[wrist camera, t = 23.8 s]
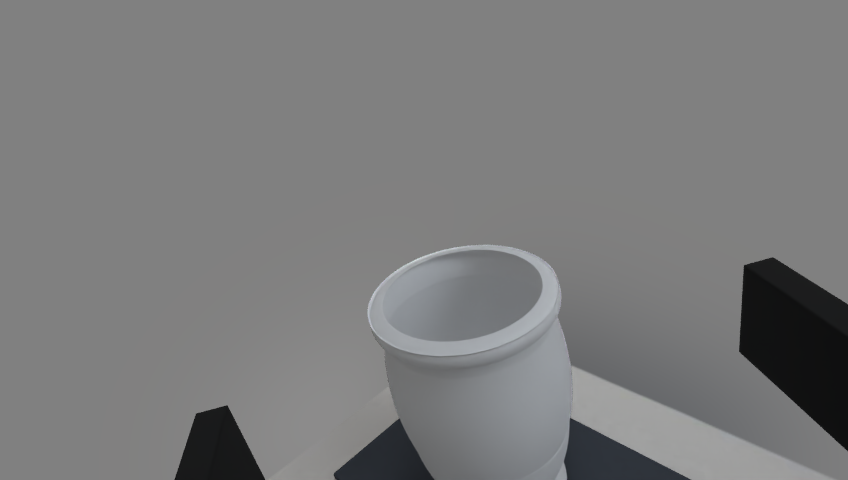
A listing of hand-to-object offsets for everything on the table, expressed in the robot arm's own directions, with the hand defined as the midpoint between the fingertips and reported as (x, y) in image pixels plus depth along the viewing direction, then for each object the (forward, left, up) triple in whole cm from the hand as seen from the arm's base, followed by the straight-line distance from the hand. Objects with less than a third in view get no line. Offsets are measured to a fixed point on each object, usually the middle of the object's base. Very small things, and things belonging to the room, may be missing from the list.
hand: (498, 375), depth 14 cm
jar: (+2, -14, -21) cm, 26 cm away
